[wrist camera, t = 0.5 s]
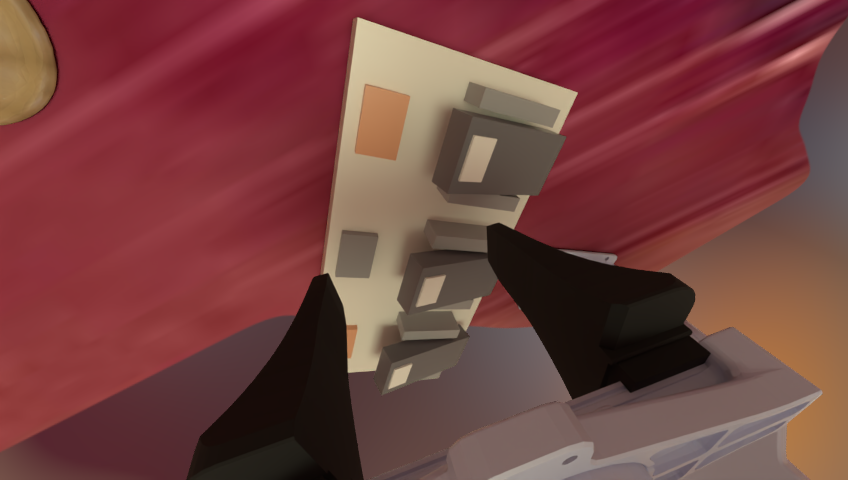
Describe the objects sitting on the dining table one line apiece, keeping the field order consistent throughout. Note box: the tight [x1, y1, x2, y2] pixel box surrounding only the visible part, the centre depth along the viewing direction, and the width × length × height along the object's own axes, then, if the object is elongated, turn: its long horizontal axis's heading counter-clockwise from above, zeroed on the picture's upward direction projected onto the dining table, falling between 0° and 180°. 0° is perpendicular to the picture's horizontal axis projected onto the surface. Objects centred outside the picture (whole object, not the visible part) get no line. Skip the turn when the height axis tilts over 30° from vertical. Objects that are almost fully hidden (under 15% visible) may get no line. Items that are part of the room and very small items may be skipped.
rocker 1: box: [374, 324, 470, 395], centre depth 27 cm, size 8×4×2 cm, turn 74°
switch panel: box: [320, 17, 578, 380], centre depth 24 cm, size 14×27×5 cm, turn 164°
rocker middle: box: [397, 249, 498, 315], centre depth 23 cm, size 8×4×2 cm, turn 74°
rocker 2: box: [432, 108, 566, 195], centre depth 18 cm, size 8×4×2 cm, turn 74°
